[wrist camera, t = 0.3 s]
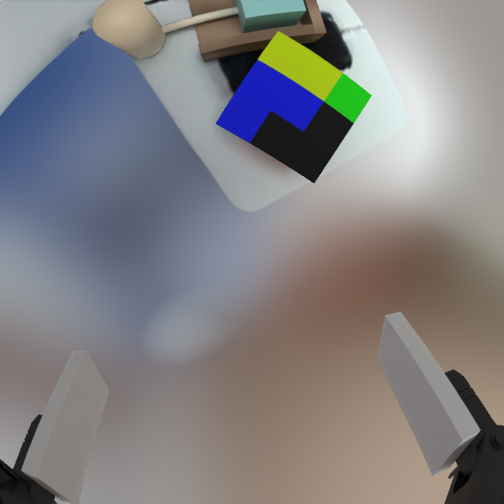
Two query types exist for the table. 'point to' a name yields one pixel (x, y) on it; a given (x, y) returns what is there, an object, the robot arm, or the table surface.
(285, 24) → the toy hammer
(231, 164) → the table surface
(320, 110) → the puzzle toy
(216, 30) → the shelf lane
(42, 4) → the table surface
